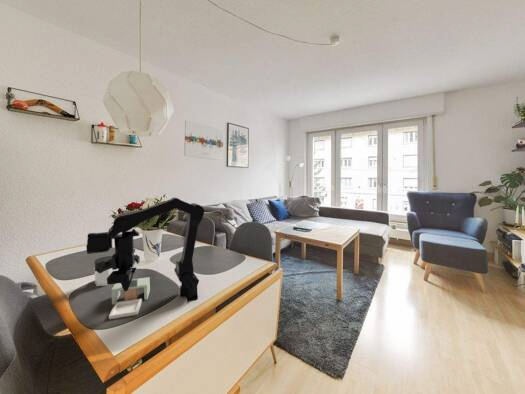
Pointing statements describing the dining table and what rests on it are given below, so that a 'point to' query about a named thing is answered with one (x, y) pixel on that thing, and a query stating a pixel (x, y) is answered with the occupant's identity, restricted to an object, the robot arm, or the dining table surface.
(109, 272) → the jar
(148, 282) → the cover
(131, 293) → the block
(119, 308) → the dish
